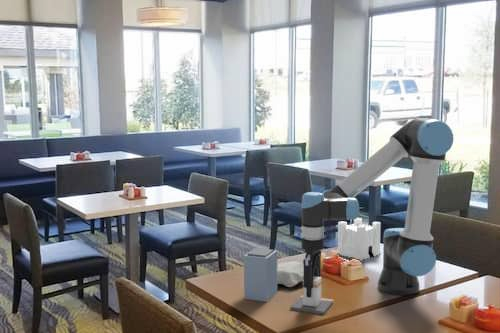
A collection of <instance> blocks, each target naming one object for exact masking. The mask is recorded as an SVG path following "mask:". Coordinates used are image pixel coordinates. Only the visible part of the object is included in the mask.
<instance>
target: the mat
mask: <svg viewBox="0 0 500 333" xmlns="http://www.w3.org/2000/svg"><path fill="white" fill-rule="evenodd" d="M334 301H335V300H334V299H332V298H331V299H329V298H322V297H321V303H320V304H319V305H318V306H317V307H315V306H308V305H303V294H302V295H300V296H299V297H298V298H297V299H296V300H295V301H294V303H292V304H291V306H289V307H290V308H289V309H290V311H295V312H303V313H310V314H315V315H316V314H317V315H325V314H326V313H327V311H329V309H330V308H331V307H332V305H333V304H334Z"/></svg>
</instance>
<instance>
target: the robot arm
mask: <svg viewBox="0 0 500 333" xmlns="http://www.w3.org/2000/svg"><path fill="white" fill-rule="evenodd" d="M453 143H454V134H453V130H452V129H451V127H450V126H449V124H447V123H446V122H445V121H441V120H440V119H435V118H425V117H417V118H414V119H412V120H410V121H408V122H407V123H406V124H404V125H403V126H401V128H399V129H398V130H397V131H395V132H394V133H393V134H392V135H391V136H390V137H389V141H388V142H387V143H385V144H384V145H383V146H382V147H381V148H380V149H378V150H377V151H375V153H374V154H372V155H371V156H370V157H369V158H367V160H365V161H364V162H363V163H362V164H360V165H359V166H358V167H357V168H356V169H354V170H353V171H352V172H351V173H350V174H348V175H347V176H346V177H345V178H344V179H342V180H341V181H339V183H337V184H336V185H335V186H334V187H332V188H331V189H326V190H324V191H323V192H318V191H310V192H305V193H303V194H302V196H301V205H300V206H301V227H300V228H299V229H300V230H301V237H302V238H301V249H302V250H304V251H305V252H306V253H305V255H304V256H305V258H304V259H303V260H302V263H303V264H304V285H303V284H302V288H303V287H305V288H306V305H308V306H314V287H313V279H314V276H317V277H321V278H322V276H321V274H322V268H321V267H322V266H321V265H322V262H321V261H322V260H321V258H322V250H323V249H324V246H325V245H324V242H325V241H324V238H323V237H324V236H325V234H324V230H325V229H324V228H325V227H324V225H325V224H324V222H325V221H350V220H351V221H352V220H354V219H356V218H359V215H360V203H359V200H358V199H357V198H356V196H358V195H359V194H360V193H361V192H362V191H364V190H365V189H366V188H368V186H370V185H371V184H372V183H373V182H375V181H376V180H377V179H379V177H381V176H382V175H383V174H384V173H386V172H387V171H388V170H389V169H391V168H392V167H393V166H394V165H395V164H397V163H398V162H399V161H400V160H402V159H403V158H408V157H410V158H411V160H412V161H413V163H412V171H411V180H410V185H409V186H410V187H409V192H408V193H409V194H408V201H407V209H406V216H405V223H404V227H394V228H387V229H385V230H384V232H383V237H382V239H383V251H382V252H383V260H382V261H383V262H382V264H383V265H382V268H381V269H382V270H381V273H380V275H379V278H378V281H377V288H378V289H379V290H380V291H381V292H383V293H387V294H389V295H390V294H391V295H397V296H409V295H414V294H415V295H416V294H417V293H419V291H420V281H419V278H418V277H423V276H425V275H427V274H428V273H431V271H432V270H433V269H434V267H435V266H436V263H437V254H436V253H435V250H434V249H433V247H434V246H433V245H434V236H433V235H432V234H431V228H432V227H431V226H432V220H433V212H434V207H435V206H434V205H435V199H436V192H437V184H438V176H439V170H440V166H441V164H442V163H443V162H445V161H446V155H447V153H448V151H450V150H451V149H452V147H453Z"/></svg>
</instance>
